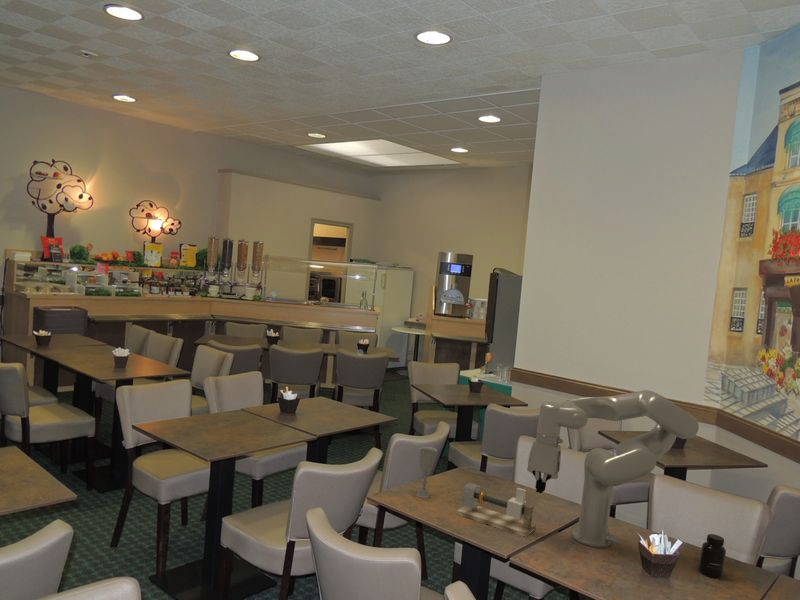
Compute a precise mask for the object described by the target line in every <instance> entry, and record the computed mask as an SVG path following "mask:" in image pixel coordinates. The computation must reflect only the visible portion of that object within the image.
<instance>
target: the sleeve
mask: <svg viewBox="0 0 800 600" xmlns="http://www.w3.org/2000/svg"><path fill="white" fill-rule="evenodd" d="M526 493H527V490H526V489H523V488H521V487H516V493H515V497H514V496H513V497H511V498H510V499H507V502H508V503H507V508H506V511H505V512H506V513H505V515H508V516H511V517H514V518H517V519H520V520H522V518H524V513H521V512H522V507H524V508H525V506H526V505H527V501H526Z"/></svg>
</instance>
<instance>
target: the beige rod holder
mask: <svg viewBox="0 0 800 600" xmlns="http://www.w3.org/2000/svg"><path fill="white" fill-rule="evenodd" d="M461 508H462V507H460V508H458V509H457V510H456V515H457V516H461V517H463V518H466V517H467V518H466V519H469V518H470V519H469V520H472V519H473V521H475V522H478V523H481V524H483V525H486V524H488V525H487V526H489V525H491V526H490V527H492V526H493V528H495V527H496V529H498V528H499V529H498V530H501V529H502V531H504V530H505V531H504V532H507V531H508V532H507V533H510V532H512V533H511V534H513V533H515V534H514V535H516V534H518V535H517V536H519V535H522V536H525V537H524V538H526V537H528V536H529V535H530V534H531V533H532V532H533V531H534V530H535V529H536V528H537V527H536V526H537V525H536V524H535V523H533V521H532V520H533V514H534V513H533V512H534V505H532V504H526V506H525V511H524V516H523V520H522V519H517V518H514V517H511V516H508V515H506V513H502V512H498V511H495V510H492V509H489V508H485V507H483V506H480V505H478V506H477V509H476V510H474V511H472V512H469V511H466V510H463V509H461ZM533 529H534V530H533ZM532 530H533V531H532ZM531 531H532V532H531ZM530 532H531V533H530ZM529 533H530V534H529ZM528 534H529V535H528ZM522 536H521V537H522Z"/></svg>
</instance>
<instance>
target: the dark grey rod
mask: <svg viewBox="0 0 800 600" xmlns="http://www.w3.org/2000/svg"><path fill="white" fill-rule="evenodd" d="M479 495H480V492H479V493H476V494H475V498H476V499H479ZM482 500H483V501H485V503H489V504H493V505H496V506H498V507H502V508H505V509H507V503H508V501H505V500H503V499H499V498H495V497H492V496H489V495H487V494H486V495H484V496H483V499H482ZM524 511H525V508H524V507H522V512H521V513H524Z"/></svg>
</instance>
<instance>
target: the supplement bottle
mask: <svg viewBox="0 0 800 600" xmlns="http://www.w3.org/2000/svg"><path fill="white" fill-rule="evenodd" d="M706 536H707V537H706V541H705V542H703V543H702V546H701V550H700V558H699V565H698V570H699V572H700V573H701V574H702V575H705V576H706V577H709V578H712V579H719V578H722V577H723V573H724V572H723V571H724V565H725V560H726V554H727V550H726V548H725V547H724V544H725V539H724V538H723V537H722V536H721V535H718V534H714V533H710V534H709V533H708V534H707V535H706Z"/></svg>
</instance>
